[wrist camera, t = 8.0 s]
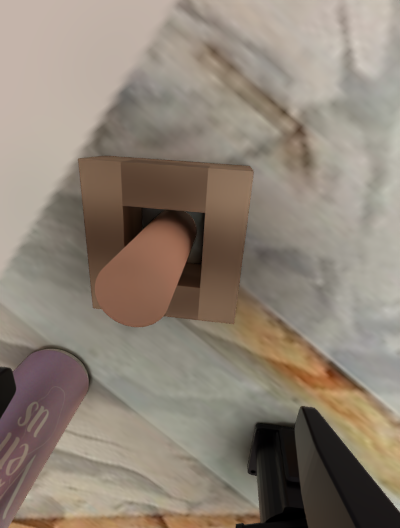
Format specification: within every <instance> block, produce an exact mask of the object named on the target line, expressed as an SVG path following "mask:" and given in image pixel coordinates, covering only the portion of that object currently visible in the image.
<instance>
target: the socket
mask: <svg viewBox="0 0 400 528" xmlns="http://www.w3.org/2000/svg"><path fill="white" fill-rule="evenodd" d="M78 162H79V172H80V182H81V193H82V203H83V213H84V223H85V233H86V243H87V253H88V263H89V273H90V283H91V293H92V303H93V308H96V309H102V308H101V307H100V305H99V303H98V301H97V298H96V295H95V282H96V278H97V276H98V274H99V273H100V271H101V270H102V269H103V268H104V267H105V266H106V265H107V264H108V263H109V262H110V261H111V260H112V259H113V258H114V257H115V256H116V255H117V254H118V253H119V252H120V251H121V250H122V249H123V248H124V247H126V246H127V245H128V244H129V243H130V242H131V241H132V240H133V239H134V238H135V237H136V236H137V235H138V234H139V233H140V232H141V231H142V207H143V208H155V209H167V210H179V211H190V212H202V213H205V224H204V239H203V253H202V265H201V264H191V263H186V264H185V266H184V269H183V271H182V274H181V276H180V279H179V281H178V284H177V287H176V289H175V292H174V294H173V297H172V299H171V302H170V304H169V307H168V309H167V311H166V313H165V315H164V316H167V317H176V318H184V319H193V320H202V321H211V322H220V323H229V324H234V321H235V314H236V306H237V298H238V290H239V283H240V275H241V267H242V259H243V252H244V244H245V236H246V228H247V220H248V213H249V205H250V197H251V189H252V182H253V174H254V171H253V170H252V168H251V167H250V166H242V165H228V164H214V163H200V162H186V161H172V160H158V159H145V158H131V157H117V156H98V157H89V158H79V159H78Z"/></svg>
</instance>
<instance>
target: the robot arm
mask: <svg viewBox="0 0 400 528" xmlns="http://www.w3.org/2000/svg"><path fill="white" fill-rule="evenodd" d="M15 393H16V383H15V379H14V375H13V371H12V369H11V368H7V367H0V419H1V417H2V415H3V414H4V412H5V410H6V409H7V407H8V405H9V404H10V402H11V400H12V399H13V397H14V395H15ZM248 473H249V474H250V475H255V476H257V482H258V496H259V510H260V523H254V524H246V525H244V524H243V523H241V524H236V528H400V512H399V511H398V509H397V508H396V507H395V506H394V504H393V503H392V502H391V501H390V500H389V498H388V497H387V496H386V495H385V493H384V492H383V491H382V490H381V488H380V487H379V486H378V485H377V484H376V482H375V481H374V480H373V479H372V477H371V476H370V475H369V474H368V472H367V471H366V470H365V469H364V467H363V466H362V465H361V464H360V463H359V461H358V460H357V459H356V458H355V456H354V455H353V454H352V453H351V451H350V450H349V449H348V448H347V446H346V445H345V444H344V443H343V442H342V440H341V439H340V438H339V437H338V435H337V434H336V433H335V432H334V430H333V429H332V428H331V427H330V425H329V424H328V423H327V422H326V421H325V419H324V418H323V417H322V416H321V414H320V413H319V412H318V411H317V410H316V409H315V408H313V407H305V406H302V407H300V409H299V412H298V416H297V420H296V424H295V428H289V427H282V426H275V425H267V424H257V425H256V427H255V431H254V436H253V441H252V446H251V452H250V457H249V462H248Z"/></svg>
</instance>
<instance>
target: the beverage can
mask: <svg viewBox="0 0 400 528" xmlns="http://www.w3.org/2000/svg"><path fill="white" fill-rule="evenodd" d="M13 375H14V379H15V383H16V393H15V395H14V397H13V399H12V400H11V402H10V404H9V405H8V407H7V409H6V410H5V412H4V414H3V415H2V417H1V419H0V528H8V527H9V525H10V523H11V522H12V520H13V518H14V516H15V515H16V513H17V511H18V510H19V508H20V506H21V505H22V503H23V501H24V499H25V498H26V496H27V494H28V493H29V491H30V489H31V487H32V486H33V484H34V482H35V481H36V479H37V477H38V475H39V474H40V472H41V470H42V469H43V467H44V465H45V463H46V462H47V460H48V458H49V457H50V455H51V453H52V451H53V450H54V448H55V446H56V445H57V443H58V441H59V440H60V438H61V436H62V434H63V433H64V431H65V429H66V428H67V426H68V424H69V422H70V421H71V419H72V417H73V416H74V414H75V412H76V410H77V409H78V407H79V405H80V404H81V402H82V400H83V398H84V397H85V395H86V393H87V391H88V388H89V379H88V373H87V371H86V368H85V367H84V365H83V364H82V363H81V361H80V360H79V359H77V358H76V357H75V356H73V355H72V354H70V353H68V352H66V351H63V350H59V349H44V350H40V351H36V352H34V353H32V354H30V355H29V356H28V357H27V358H26V359H25V360H24V361H23V362H22V363H21V364H20V365H19V366H18V367H17V368H16V369H15V370H14V371H13Z"/></svg>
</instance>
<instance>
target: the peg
mask: <svg viewBox="0 0 400 528" xmlns="http://www.w3.org/2000/svg"><path fill="white" fill-rule="evenodd" d="M196 235H197V228H196V224H195V222H194V220H193V218H192V217H191V216H190V215H189V214H188V213H187V212H185V211H179V210H164V211H163V212H161V213H160V214H159V215H158V216H157V217H156V218H155V219H154V220H152V221H151V222H150V223H149V224H148V225H147V226H146V227H145V228H144V229H143V230H142V231H141V232H140V233H139V234H138V235H137V236H136V237H135V238H134V239H133V240H132V241H131V242H130V243H129V244H128V245H127V246H126V247H124V248H123V249H122V250H121V251H120V252H119V253H118V254H117V255H116V256H115V257H114V258H113V259H112V260H111V261H110V262H109V263H108V264H107V265H106V266H105V267H104V268H103V269H102V270H101V271H100V273H99V274H98V276H97V278H96V282H95V295H96V298H97V301H98V303H99V305H100V307H101V308H102V310H103V311H104V312H105V313H106V314H107V315H108V316H109V317H110V318H112V319H113V320H115V321H117V322H118V323H121V324H123V325H126V326H131V327H145V326H149V325H152V324H154V323H156V322H157V321H159V320H160V319H161V318H162V317H163V316H164V315H165V313H166V311H167V309H168V307H169V304H170V302H171V299H172V297H173V294H174V292H175V289H176V287H177V284H178V281H179V279H180V276H181V274H182V271H183V269H184V266H185V264H186V261H187V259H188V256H189V254H190V251H191V249H192V246H193V244H194V241H195V238H196Z"/></svg>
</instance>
